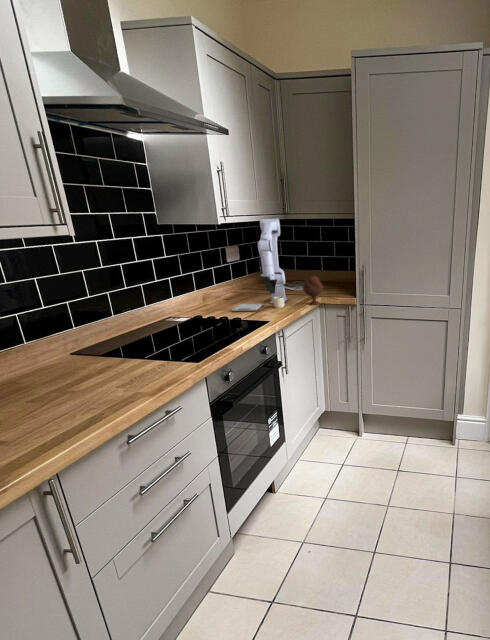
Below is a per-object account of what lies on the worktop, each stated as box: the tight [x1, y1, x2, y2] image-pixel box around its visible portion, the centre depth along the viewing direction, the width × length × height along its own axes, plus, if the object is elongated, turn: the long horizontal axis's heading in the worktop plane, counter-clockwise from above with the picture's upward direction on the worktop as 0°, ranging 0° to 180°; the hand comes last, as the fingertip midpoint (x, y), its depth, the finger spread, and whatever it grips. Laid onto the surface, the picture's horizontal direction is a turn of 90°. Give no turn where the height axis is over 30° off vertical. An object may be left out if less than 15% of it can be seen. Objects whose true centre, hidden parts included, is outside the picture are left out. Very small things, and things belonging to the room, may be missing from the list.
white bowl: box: [272, 297, 286, 309], centre depth 233 cm, size 6×6×5 cm
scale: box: [231, 303, 265, 313], centre depth 231 cm, size 14×13×1 cm
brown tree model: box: [302, 275, 324, 306], centre depth 236 cm, size 11×11×15 cm
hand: (271, 292), depth 224 cm, fingers open, 7 cm apart
